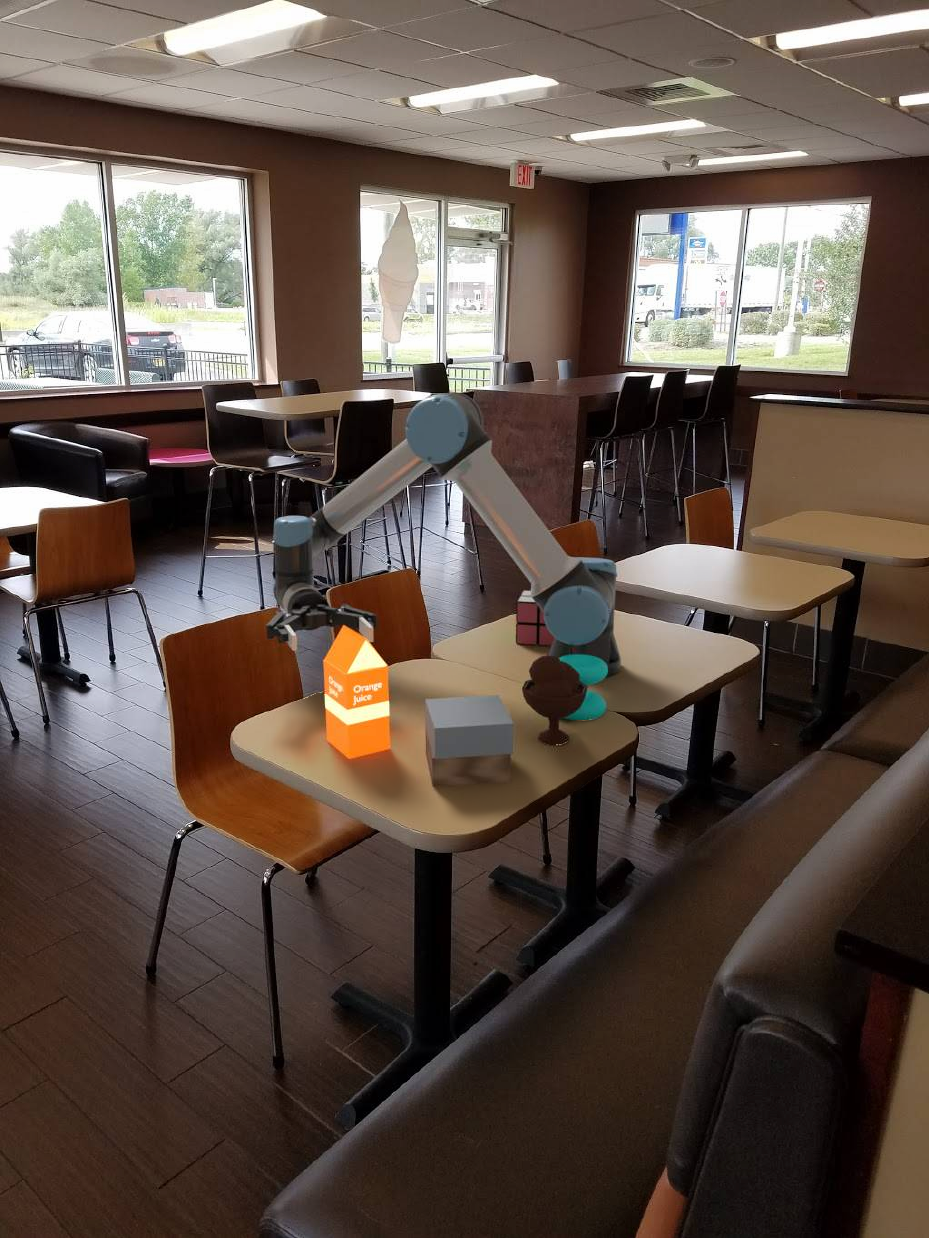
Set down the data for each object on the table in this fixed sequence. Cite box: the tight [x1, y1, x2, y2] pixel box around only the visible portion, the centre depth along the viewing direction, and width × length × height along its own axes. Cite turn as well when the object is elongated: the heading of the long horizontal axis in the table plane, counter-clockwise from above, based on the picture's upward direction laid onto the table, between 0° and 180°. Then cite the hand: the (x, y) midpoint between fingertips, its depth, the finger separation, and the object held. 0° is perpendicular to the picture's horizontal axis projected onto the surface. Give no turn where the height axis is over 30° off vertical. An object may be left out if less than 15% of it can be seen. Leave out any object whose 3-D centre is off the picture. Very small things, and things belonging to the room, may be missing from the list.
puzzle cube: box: [515, 590, 554, 647], centre depth 210 cm, size 10×10×10 cm
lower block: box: [424, 726, 512, 787], centre depth 148 cm, size 12×12×5 cm
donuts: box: [559, 654, 608, 721], centre depth 168 cm, size 10×10×10 cm
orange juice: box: [323, 625, 391, 760], centre depth 154 cm, size 8×9×20 cm
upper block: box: [424, 694, 515, 759], centre depth 146 cm, size 12×12×5 cm
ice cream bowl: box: [521, 654, 589, 746], centre depth 156 cm, size 11×11×15 cm
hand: (333, 638), depth 161 cm, fingers open, 13 cm apart
